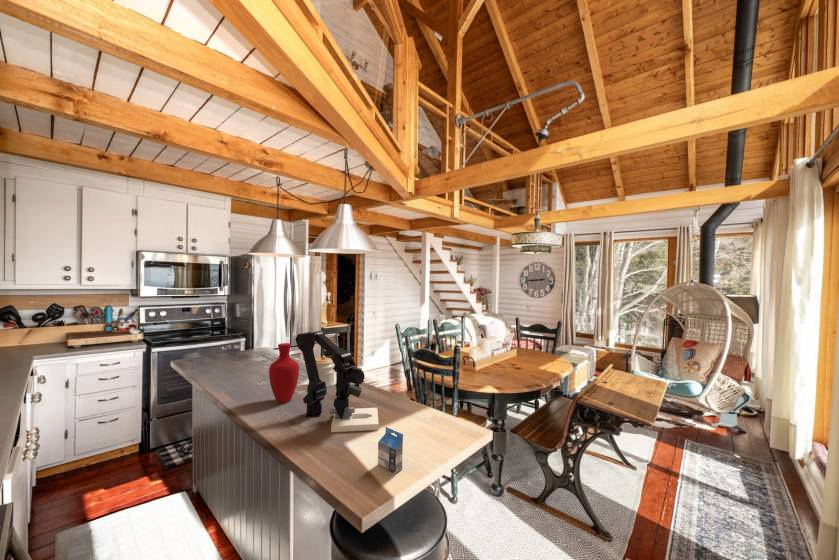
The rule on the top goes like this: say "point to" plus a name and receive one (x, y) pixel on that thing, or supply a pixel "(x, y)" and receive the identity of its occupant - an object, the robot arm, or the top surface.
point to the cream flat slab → (357, 421)
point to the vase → (284, 375)
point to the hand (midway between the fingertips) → (342, 414)
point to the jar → (325, 370)
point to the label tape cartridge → (391, 451)
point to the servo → (347, 412)
